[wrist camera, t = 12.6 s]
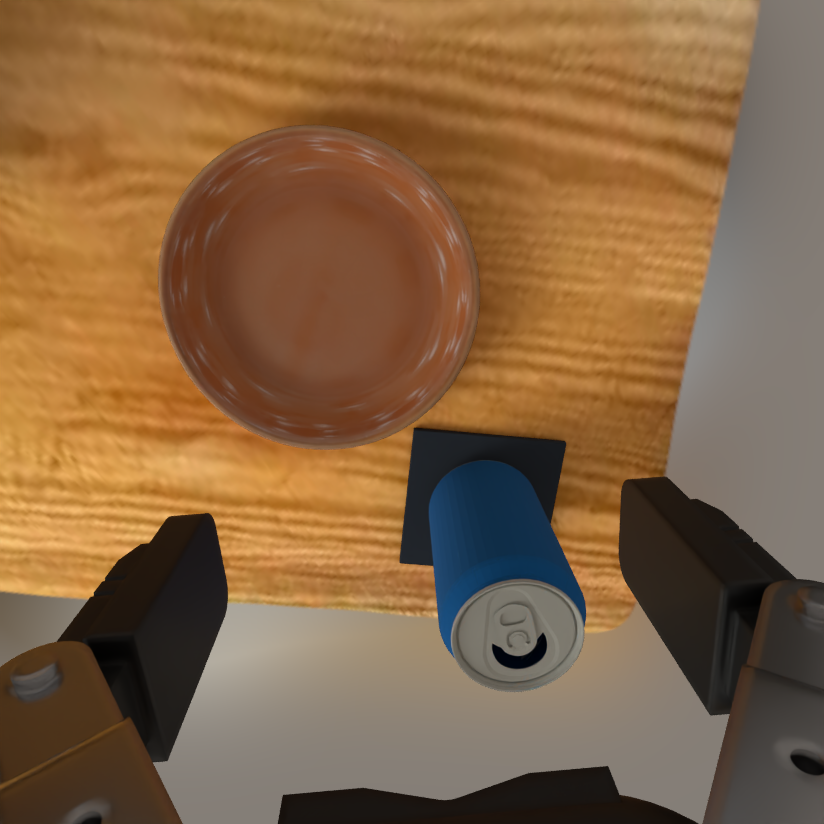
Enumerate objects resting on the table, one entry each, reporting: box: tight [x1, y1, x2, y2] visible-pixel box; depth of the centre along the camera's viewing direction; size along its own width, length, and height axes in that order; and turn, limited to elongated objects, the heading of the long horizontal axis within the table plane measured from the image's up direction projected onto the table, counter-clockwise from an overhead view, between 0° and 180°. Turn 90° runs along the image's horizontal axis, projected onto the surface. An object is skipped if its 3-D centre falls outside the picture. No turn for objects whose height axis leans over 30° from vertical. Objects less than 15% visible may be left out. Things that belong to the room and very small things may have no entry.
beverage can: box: [429, 460, 586, 692], centre depth 31 cm, size 6×6×12 cm
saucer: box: [158, 125, 480, 450], centre depth 31 cm, size 16×16×3 cm
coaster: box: [400, 428, 566, 566], centre depth 37 cm, size 9×9×1 cm
